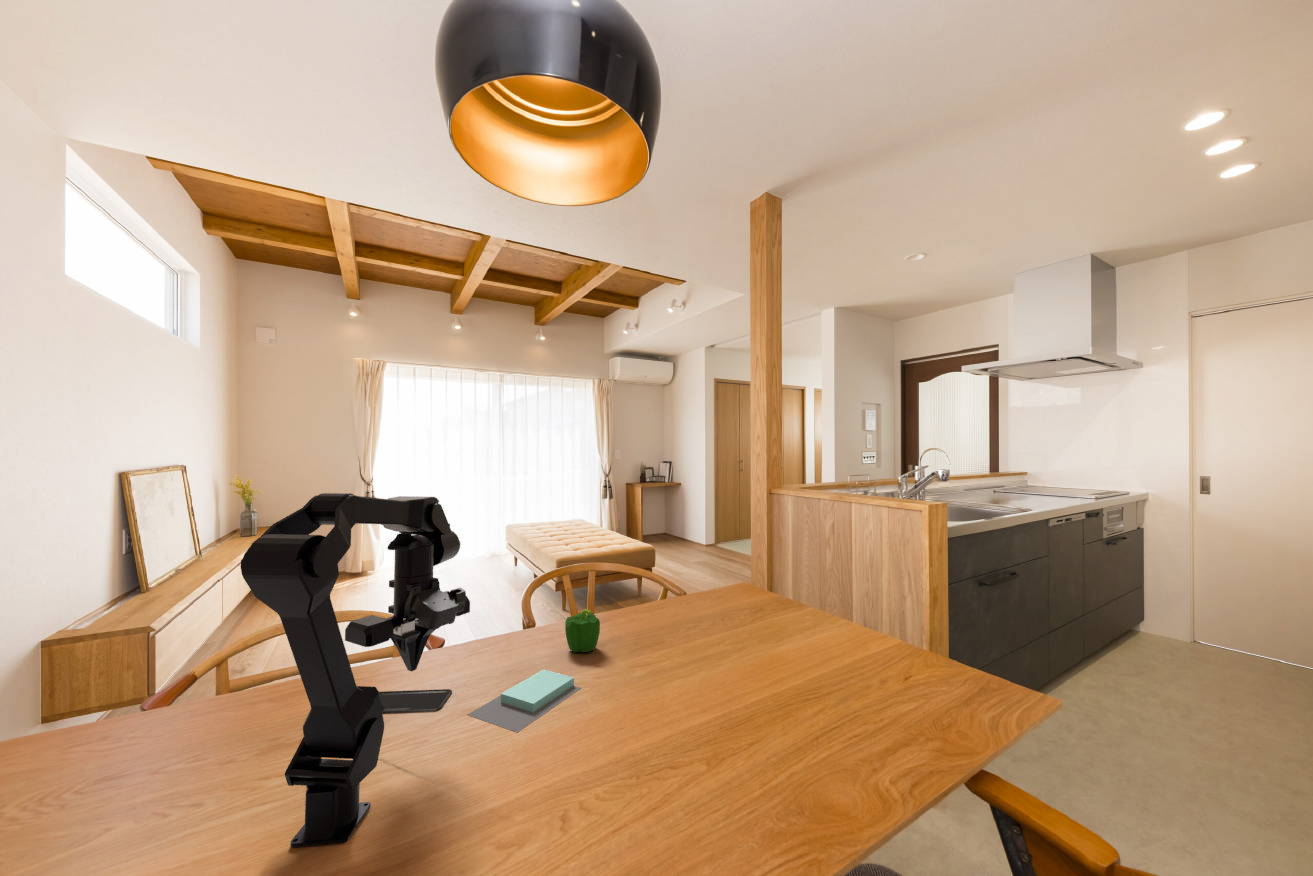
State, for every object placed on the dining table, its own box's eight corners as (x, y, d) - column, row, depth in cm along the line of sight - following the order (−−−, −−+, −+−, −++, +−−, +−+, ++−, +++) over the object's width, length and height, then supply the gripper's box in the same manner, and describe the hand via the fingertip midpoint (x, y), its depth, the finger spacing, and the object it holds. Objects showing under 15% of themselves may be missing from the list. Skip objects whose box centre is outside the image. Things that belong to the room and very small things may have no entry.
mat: (517, 734, 82) (517, 732, 82) (466, 717, 88) (466, 714, 88) (581, 690, 98) (581, 688, 98) (535, 677, 104) (535, 675, 104)
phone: (374, 691, 96) (453, 688, 97) (374, 697, 96) (453, 694, 97) (353, 713, 88) (439, 709, 89) (352, 719, 88) (439, 715, 89)
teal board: (533, 703, 89) (574, 677, 99) (500, 693, 92) (543, 669, 103) (533, 712, 89) (573, 685, 99) (500, 702, 92) (543, 677, 103)
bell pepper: (561, 646, 121) (561, 605, 121) (593, 641, 124) (593, 601, 125) (570, 659, 113) (570, 615, 113) (604, 653, 117) (604, 611, 117)
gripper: (391, 594, 68) (388, 708, 68) (493, 567, 85) (491, 659, 84) (344, 584, 73) (341, 690, 73) (449, 560, 90) (447, 647, 89)
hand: (411, 670), depth 80 cm, fingers closed
